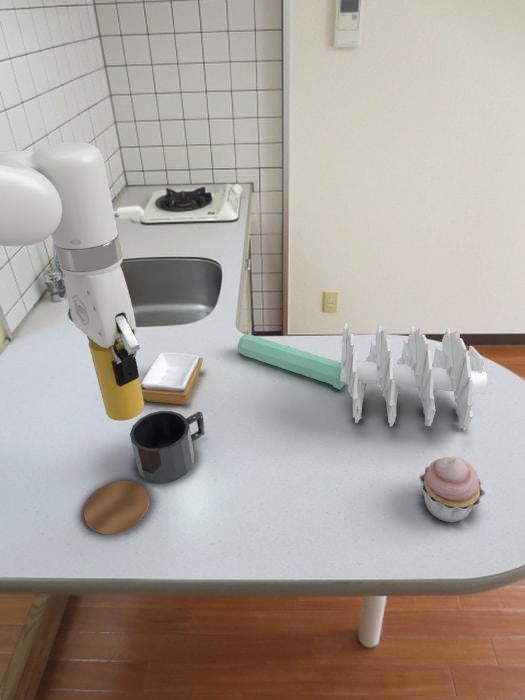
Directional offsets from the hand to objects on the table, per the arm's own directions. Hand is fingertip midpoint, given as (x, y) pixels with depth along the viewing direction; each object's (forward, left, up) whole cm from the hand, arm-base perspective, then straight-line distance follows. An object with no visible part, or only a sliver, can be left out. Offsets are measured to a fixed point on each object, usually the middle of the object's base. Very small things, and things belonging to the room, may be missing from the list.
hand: (116, 370), depth 74 cm
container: (+15, +37, -23) cm, 46 cm away
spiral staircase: (+40, +29, -23) cm, 54 cm away
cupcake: (+48, +9, -23) cm, 54 cm away
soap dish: (-6, +24, -23) cm, 34 cm away
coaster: (-1, -6, -23) cm, 24 cm away
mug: (+2, +7, -23) cm, 24 cm away
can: (0, 0, -7) cm, 7 cm away
